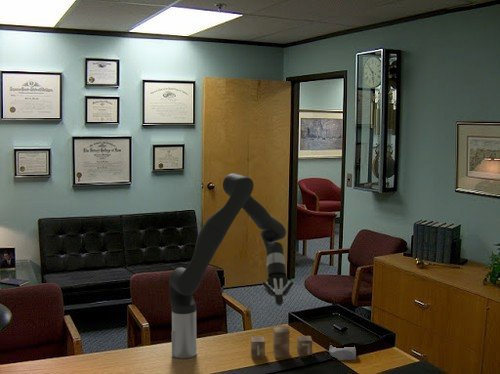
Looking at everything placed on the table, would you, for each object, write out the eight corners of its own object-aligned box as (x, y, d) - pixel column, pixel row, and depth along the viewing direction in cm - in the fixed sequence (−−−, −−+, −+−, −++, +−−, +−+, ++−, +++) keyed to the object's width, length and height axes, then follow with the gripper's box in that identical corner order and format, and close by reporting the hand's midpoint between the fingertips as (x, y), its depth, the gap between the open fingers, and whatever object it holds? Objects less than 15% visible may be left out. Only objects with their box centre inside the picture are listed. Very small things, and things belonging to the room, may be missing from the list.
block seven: (299, 357, 218) (299, 341, 217) (297, 352, 223) (297, 336, 223) (312, 357, 218) (312, 340, 218) (309, 352, 223) (310, 335, 223)
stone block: (332, 365, 216) (358, 360, 215) (329, 352, 216) (356, 348, 215) (329, 353, 228) (354, 349, 227) (327, 342, 228) (352, 337, 227)
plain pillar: (274, 358, 217) (275, 332, 216) (273, 352, 223) (273, 327, 222) (289, 357, 218) (289, 332, 217) (287, 352, 223) (287, 327, 222)
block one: (251, 358, 217) (251, 342, 216) (250, 353, 222) (250, 337, 221) (264, 358, 217) (265, 341, 217) (263, 353, 222) (263, 336, 222)
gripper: (260, 261, 232) (263, 300, 221) (293, 261, 233) (297, 299, 222) (259, 271, 238) (262, 309, 227) (291, 270, 239) (295, 308, 228)
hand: (279, 304), depth 224 cm, fingers closed
